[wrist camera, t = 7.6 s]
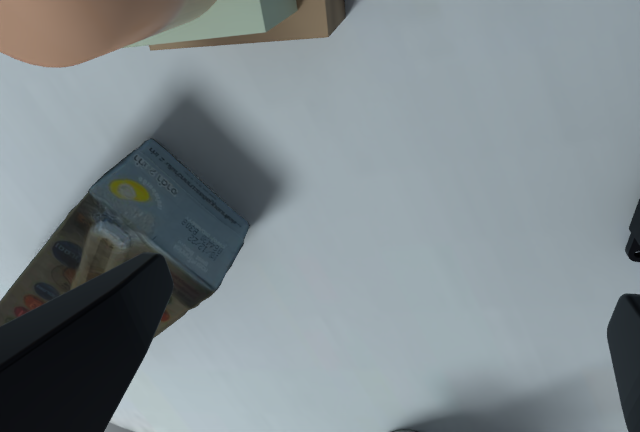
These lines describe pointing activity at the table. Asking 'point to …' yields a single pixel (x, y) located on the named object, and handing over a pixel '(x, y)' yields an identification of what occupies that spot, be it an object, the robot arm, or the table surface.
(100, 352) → the robot arm
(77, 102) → the table surface
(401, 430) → the house plant
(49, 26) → the pink domed cylinder
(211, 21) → the top block
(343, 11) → the base block
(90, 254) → the beverage carton
